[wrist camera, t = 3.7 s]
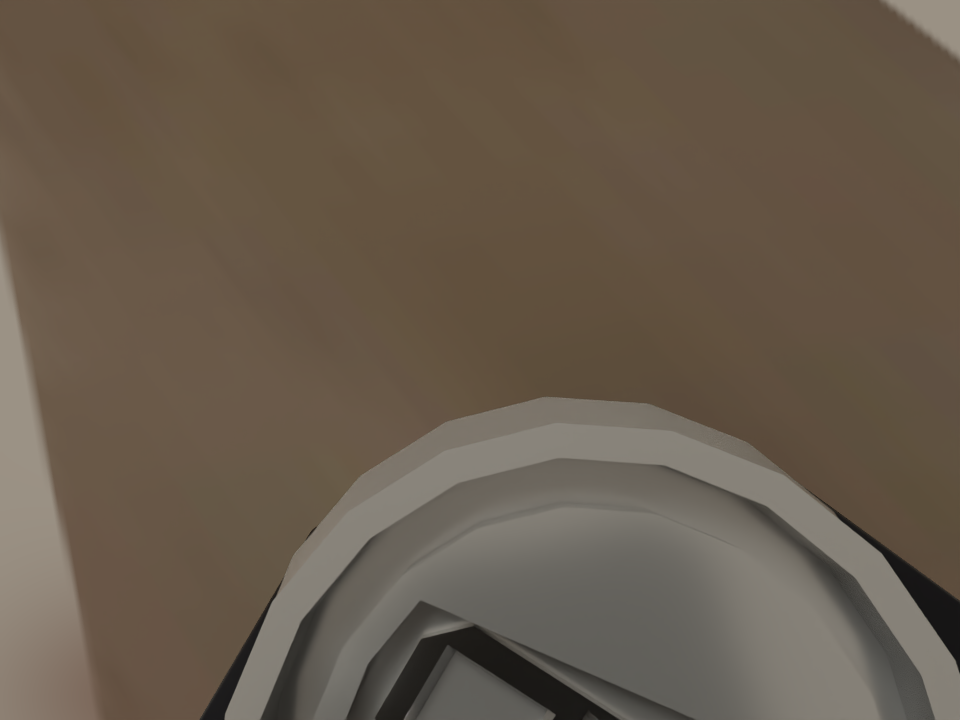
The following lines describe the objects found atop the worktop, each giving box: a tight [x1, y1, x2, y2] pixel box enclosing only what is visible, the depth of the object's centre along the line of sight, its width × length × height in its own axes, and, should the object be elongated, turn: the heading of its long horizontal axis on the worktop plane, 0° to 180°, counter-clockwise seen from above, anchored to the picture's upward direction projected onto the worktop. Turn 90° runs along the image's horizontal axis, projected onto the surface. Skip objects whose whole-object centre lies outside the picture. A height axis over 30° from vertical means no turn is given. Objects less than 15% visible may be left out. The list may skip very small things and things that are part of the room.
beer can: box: [225, 397, 960, 720], centre depth 10 cm, size 5×5×12 cm
